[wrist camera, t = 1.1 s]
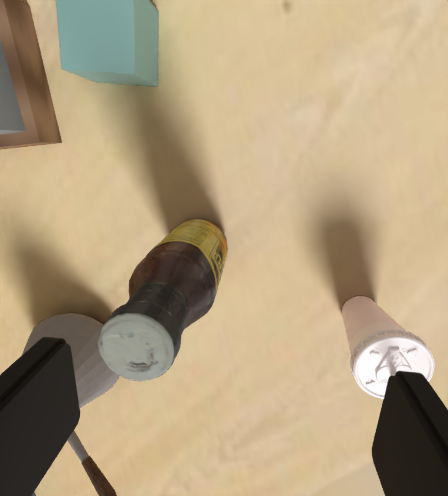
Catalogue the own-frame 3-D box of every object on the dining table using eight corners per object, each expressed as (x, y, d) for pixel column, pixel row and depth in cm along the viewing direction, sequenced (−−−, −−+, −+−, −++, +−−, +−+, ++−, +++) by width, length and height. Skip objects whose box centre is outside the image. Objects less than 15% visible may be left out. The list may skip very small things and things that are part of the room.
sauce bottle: (214, 279, 36) (166, 427, 17) (164, 255, 36) (58, 379, 17) (240, 228, 34) (215, 334, 15) (186, 202, 34) (94, 278, 15)
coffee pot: (28, 342, 42) (-92, 445, 28) (73, 284, 38) (-37, 368, 24) (155, 437, 44) (106, 574, 30) (208, 390, 41) (181, 521, 27)
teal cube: (94, 9, 29) (54, -24, 23) (158, 12, 29) (133, -20, 23) (97, 82, 31) (61, 69, 25) (158, 86, 31) (134, 73, 25)
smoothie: (330, 338, 37) (370, 447, 24) (327, 287, 35) (368, 375, 22) (389, 333, 36) (465, 445, 23) (389, 281, 34) (472, 370, 21)
